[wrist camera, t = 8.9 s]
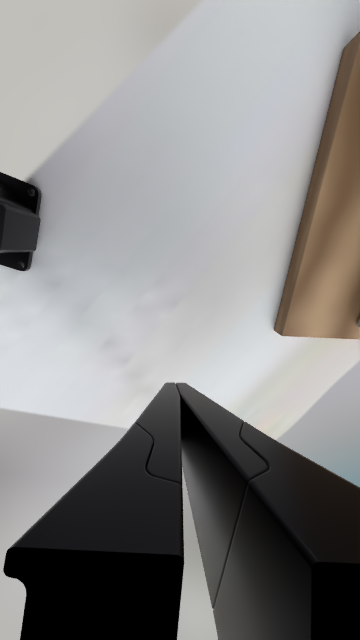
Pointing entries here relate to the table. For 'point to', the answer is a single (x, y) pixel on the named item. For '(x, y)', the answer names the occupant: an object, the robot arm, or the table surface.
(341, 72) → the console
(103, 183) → the table surface
